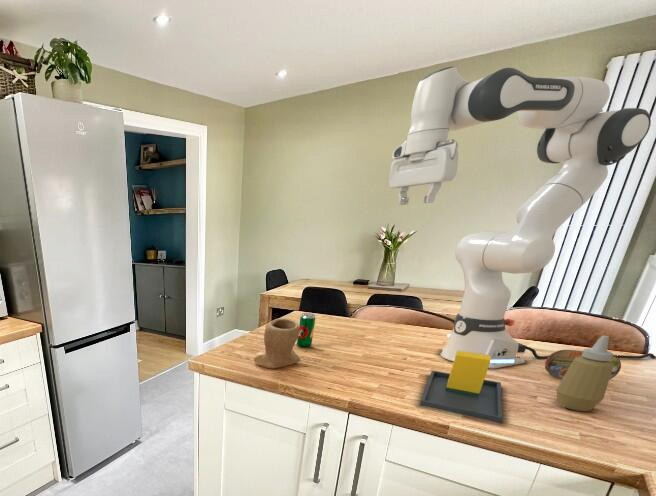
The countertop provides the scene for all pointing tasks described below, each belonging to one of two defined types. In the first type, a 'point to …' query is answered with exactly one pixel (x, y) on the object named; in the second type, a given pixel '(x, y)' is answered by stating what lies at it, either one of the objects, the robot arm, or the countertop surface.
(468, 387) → the sponge
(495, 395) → the tray
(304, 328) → the soda can
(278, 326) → the stone cup
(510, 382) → the countertop surface
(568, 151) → the robot arm
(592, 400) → the squeeze bottle
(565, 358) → the tin
